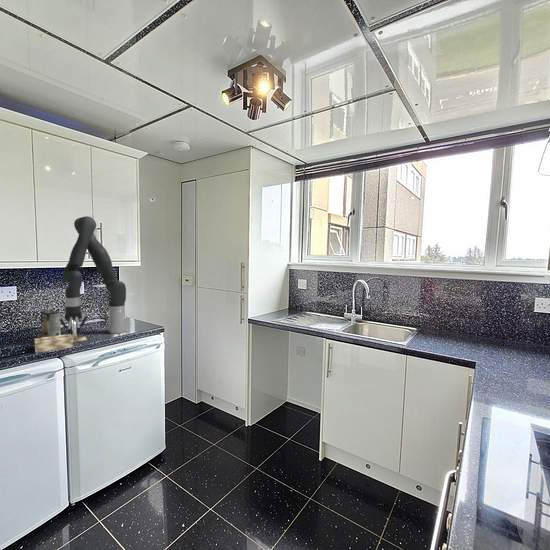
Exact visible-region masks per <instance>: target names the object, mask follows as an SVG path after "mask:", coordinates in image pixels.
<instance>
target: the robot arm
mask: <svg viewBox="0 0 550 550" xmlns="http://www.w3.org/2000/svg"><path fill="white" fill-rule="evenodd" d="M73 224H74V225H73V226H74V228H75V231H76V232H77V234H78V237H77V239H76V242H75V244H74V245H73V247H72V250H71V252H70V256H69V258H68V263H67V264H66V266H65V267H64V269H63V271H62V277H61V278H62V280H63V281H64V282H65V283H69V286H68V287H66V288H65V290H64V291H65V301H64V305H65V306H64V307H65V308H64V309H65V315H64V317H61V318H60V319H59V320H60V323H61V324H62V325H61V326H62V327H63V328H64V329H67V334H71V324H72V320H76V323H77V335H79V334H80V333H81V328H82V327H84V326H85V323H86V321H87V319H88V317H87V315H83V314H82V299H81V287H82V285H83V274H82V273H81V272H80V271H79V268H82V267H83V265H84V262H85V261H84V260H85V258H86V257H85V256H86V255H87V254H86V253H87V252H88V253H89V255H90V257H91V260H92V262H93V263H94V265H95V267H96V268H97V270H98V272H99V274H100V276H101V277H102V280H103V283H104V286H105V288H106V291H107V292H108V293H109V295H110V299H109V301H108V332H109V334H113V333H115V334H122V333H126V332H127V317H126V299H127V286H126V284H125V283H124V282H123V281H120V280H118V277H117V276H116V274H115V271H114V269H113V263H112V260H111V257H110V255H109V252H108V251H107V249H106V248H105V247H104V245H102V244H101V242H99V240H98V239H97V237H96V235H95V234H94V232H95V230H96V227H97V222H96V220H95V219H94V218H93V217H91V216H88V215H86V216H82V217H78V218H76V219H75V220H74V222H73ZM81 319H82V320H81ZM80 320H81V322H80ZM65 321H67V322H68V323H67V324H66V323H65ZM125 331H126V332H125Z"/></svg>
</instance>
